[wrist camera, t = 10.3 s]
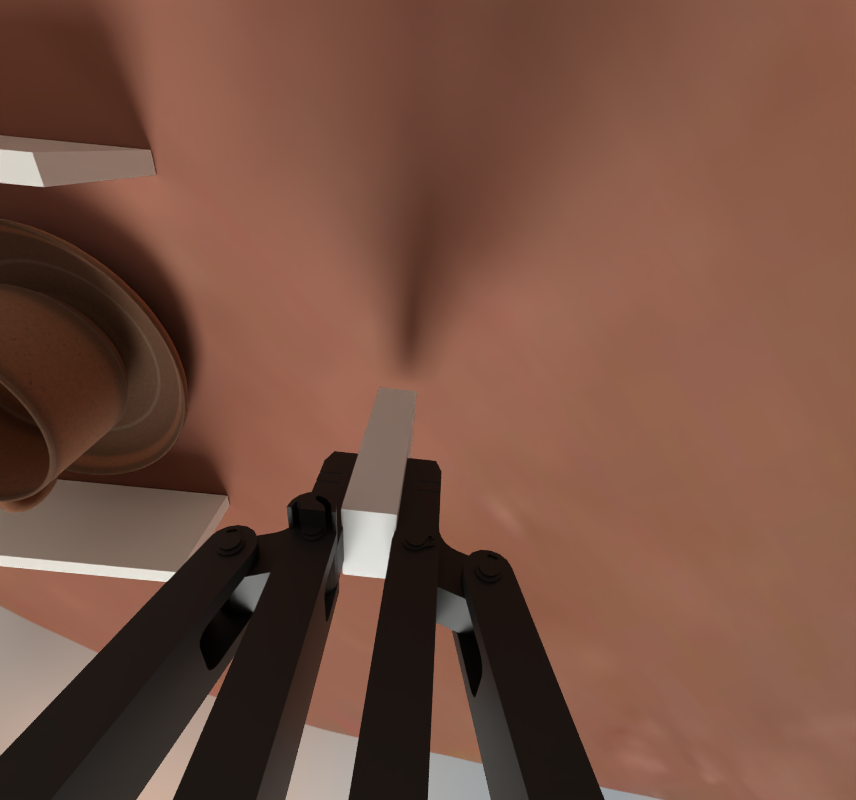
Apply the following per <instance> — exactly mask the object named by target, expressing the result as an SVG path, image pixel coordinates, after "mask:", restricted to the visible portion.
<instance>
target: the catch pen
mask: <svg viewBox="0 0 856 800" xmlns="http://www.w3.org/2000/svg"><path fill="white" fill-rule="evenodd" d="M152 175H156V171H155V167H154V162H153V158H152V153H151V150H148V149H137V148H127V147H117V146H106V145H96V144H86V143H75V142H65V141H55V140H44V139H34V138H24V137H13V136H3V135H0V183H6V184H17V185H27V186H37V187H50V186H60V185H69V184H78V183H87V182H97V181H106V180H115V179H124V178H134V177H143V176H152ZM229 506H230V505H229V501H228V496H226V495H215V494H205V493H195V492H184V491H174V490H163V489H153V488H142V487H132V486H122V485H111V484H101V483H90V482H80V481H69V480H59V479H57V482H56V484H55V486H54V487H53V489H52V490H51V492H50V493H49V494H48V496H47V497H46V498H45V499H44V500H43V501H42V502H40V503H39V504H38V505H36V506H35V507H33V508H32V509H30V510H27V511H24V512H20V513H11V512H7V511H5V510H3V509H2V508H1V507H0V566H5V567H16V568H26V569H37V570H47V571H58V572H68V573H79V574H89V575H99V576H110V577H120V578H131V579H141V580H152V581H162V582H167V581H168V580H169V579H170V578H171V577H172V576H173V575H174V574H175V573H176V572H177V571H178V570H179V569H180V568H181V567H182V566H183V564H184V563H185V562H186V561H187V560H188V559H189V558H190V557H191V556H192V555H193V554H194V553H195V552H196V551H197V550H198V549H199V548H200V547H201V546H202V545H203V544H204V543H205V541H206V540H207V539H208V538H209V537H211V535H212V534H213V532H214V531H215V529H216V527H217V526H218V524H219V522H220V521H221V519H222V518H223V516H224V514H225V513H226V511H227V509H228V508H229Z"/></svg>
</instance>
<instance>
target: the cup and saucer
mask: <svg viewBox="0 0 856 800" xmlns="http://www.w3.org/2000/svg"><path fill="white" fill-rule="evenodd" d="M187 411H188V387H187V381H186V376H185V372H184V369H183V365H182V363H181V360H180V357H179V355H178V352H177V350H176V348H175V346H174V344H173V342H172V340H171V339H170V337H169V335H168V334H167V332H166V330H165V329H164V327H163V326H162V324H161V323H160V321H159V320H158V318H157V317H156V316H155V314H154V313H153V312H152V311H151V309H150V308H149V307H148V306H147V305H146V303H145V302H144V301H143V300H142V299H141V298H140V297H139V296H138V295H137V294H136V293H135V292H134V290H133V289H132V288H130V287H129V286H128V285H127V284H126V283H125V282H124V281H123V280H122V279H121V278H120V277H118V276H117V275H116V274H115V273H113V272H112V271H111V270H110V269H109V268H107V267H106V266H105V265H103V264H102V263H101V262H99V261H98V260H96V259H95V258H93V257H92V256H91V255H89V254H87V253H86V252H84V251H82V250H81V249H79V248H78V247H76V246H74V245H72V244H70V243H68V242H66V241H65V240H63V239H61V238H59V237H57V236H54V235H52V234H50V233H47V232H45V231H43V230H40V229H37V228H34V227H31V226H28V225H25V224H22V223H18V222H14V221H10V220H6V219H0V507H1V508H2V509H3V510H5V511H7V512H11V513H20V512H24V511H27V510H30V509H32V508H33V507H35V506H36V505H38V504H39V503H40V502H42V501H43V500H44V499H45V498H46V497H47V496H48V494H49V493H50V492H51V490H52V489H53V487H54V486H55V484H56V482H57V479H58V477H59V474H60V473H61V472H63V471H64V470H65V471H69V472H74V473H81V474H90V475H115V474H123V473H129V472H133V471H136V470H140V469H142V468H144V467H147V466H149V465H151V464H153V463H154V462H156V461H158V460H159V459H160V458H162V457H163V456H164V455H165V454H166V453H167V452H168V451H169V450H170V449H171V447H172V446H173V445H174V443H175V442H176V440H177V439H178V437H179V435H180V433H181V431H182V429H183V426H184V423H185V420H186V416H187Z"/></svg>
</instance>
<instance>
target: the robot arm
mask: <svg viewBox="0 0 856 800" xmlns="http://www.w3.org/2000/svg"><path fill="white" fill-rule="evenodd" d="M416 394H417V391H410V390H401V389H391V388H381V387H379V390H378V393H377V396H376V399H375V403H374V406H373V409H372V412H371V415H370V418H369V422H368V425H367V428H366V431H365V434H364V438H363V441H362V444H361V447H360V450H359V453H358V454H355V453H345V452H336V451H335V452H333V453H332V454H331V455H330V456H329V457H328V458H327V459H326V460H325V461H324V463H323V466H322V468H321V471H320V473H319V475H318V478H317V482H316V483H315V485H314V488H313V490H312V492H308V493H305V494H302V495H299V496H297V497H296V498H294V499H293V500H292V501H291V502H290V503H289V505H288V506H287V514H288V522H289V528H287V529H285V530H283V531H280V532H276V533H271V534H265V535H258V536H257V535H256V534H255V532H254V530H252V529H250V528H249V527H247V526H240V525H236V526H229V527H226V528H223V529H221V530H219V531H217V532H216V533H214V534H213V535H212V536H211V537H209V538H208V539H207V540H206V541H205V543H204V544H203V545H202V546H201V547H200V548H199V549H198V550H197V551H196V552H195V553H194V554H193V555H192V556H191V557H190V558H189V559H188V560H187V561H186V562H185V563H184V564H183V566H182V567H181V568H180V569H179V570H178V571H177V572H176V573H175V574H174V575H173V576H172V577H171V578H170V579H169V580H168V581H167V582H166V583H165V584H164V585H163V586H162V587H161V588H160V590H159V591H158V592H157V593H156V594H155V595H154V596H153V597H152V598H151V599H150V600H149V601H148V602H147V603H146V604H145V605H144V606H143V607H142V608H141V609H140V610H139V611H138V613H137V614H136V615H135V616H134V617H133V618H132V619H131V620H130V621H129V622H128V623H127V624H126V625H125V626H124V627H123V628H122V629H121V630H120V631H119V632H118V633H117V634H116V636H115V637H114V638H113V639H112V640H111V641H110V642H109V643H108V644H107V645H106V646H105V647H104V648H103V649H102V650H101V651H100V652H99V653H98V654H97V655H96V656H95V657H94V659H93V660H92V661H91V662H90V663H89V664H88V665H87V666H86V667H85V668H84V669H83V670H82V671H81V672H80V673H79V674H78V675H77V676H76V677H75V678H74V680H72V681H71V683H70V684H69V685H68V686H67V687H66V688H65V689H64V690H63V691H62V692H61V693H60V694H59V695H58V696H57V697H56V698H55V699H54V700H53V701H52V702H51V704H49V706H48V707H47V708H46V709H45V710H44V711H43V712H42V713H41V714H40V715H39V716H38V717H37V718H36V719H35V720H34V721H33V722H32V723H31V724H30V725H29V726H28V727H27V728H26V730H25V731H24V732H23V733H22V734H21V735H20V736H19V737H18V738H17V739H16V740H15V741H14V742H13V743H12V744H11V745H10V746H9V748H7V749H6V750H5V752H4V753H3V754H2V755H1V756H0V800H136V799H137V798H138V796H139V795H140V793H141V792H142V791H143V789H144V788H145V786H146V785H147V783H148V782H149V780H150V779H151V777H152V776H153V774H154V773H155V771H156V770H157V769H158V767H159V766H160V764H161V763H162V761H163V760H164V758H165V757H166V755H167V754H168V752H169V751H170V749H171V748H172V747H173V745H174V743H175V742H176V741H177V739H178V738H179V736H180V735H181V733H182V732H183V730H184V729H185V727H186V726H187V724H188V723H189V722H190V720H191V719H192V717H193V716H194V714H195V713H196V711H197V710H198V708H199V707H200V705H201V704H202V703H203V701H204V700H205V698H206V697H207V695H208V694H209V692H210V691H211V689H212V688H213V686H214V685H215V683H216V682H217V680H218V679H219V678H220V676H221V675H222V673H223V672H224V670H225V669H226V667H227V666H228V664H229V663H230V661H231V660H232V658H233V657H234V658H233V661H232V663H231V665H230V668H229V670H228V672H227V675H226V677H225V679H224V682H223V684H222V686H221V689H220V691H219V693H218V696H217V698H216V700H215V703H214V705H213V707H212V710H211V712H210V714H209V717H208V719H207V721H206V724H205V726H204V728H203V731H202V733H201V735H200V738H199V740H198V742H197V745H196V747H195V749H194V752H193V754H192V757H191V759H190V761H189V763H188V766H187V768H186V770H185V773H184V775H183V777H182V780H181V782H180V784H179V787H178V789H177V791H176V794H175V796H174V798H173V800H285V799H286V795H287V791H288V787H289V783H290V779H291V775H292V771H293V768H294V764H295V760H296V756H297V752H298V748H299V744H300V741H301V737H302V733H303V728H304V725H305V721H306V717H307V713H308V710H309V706H310V702H311V698H312V694H313V690H314V686H315V682H316V679H317V675H318V671H319V667H320V663H321V659H322V655H323V651H324V648H325V644H326V640H327V636H328V632H329V628H330V624H331V620H332V617H333V613H334V609H335V605H336V601H337V597H338V593H339V577H340V573H341V570H342V566H343V574H346V575H356V576H365V577H375V578H384V579H385V583H384V589H383V595H382V601H381V607H380V613H379V619H378V625H377V631H376V637H375V643H374V650H373V656H372V662H371V668H370V674H369V680H368V686H367V692H366V698H365V704H364V710H363V716H362V722H361V728H360V734H359V740H358V746H357V752H356V758H355V764H354V770H353V776H352V782H351V788H350V794H349V800H428V781H429V760H430V759H429V758H430V738H431V716H432V694H433V673H434V651H435V629H436V623H438V624H441V625H443V626H445V627H447V628H449V629H451V630H452V633H453V637H454V641H455V646H456V650H457V654H458V659H459V663H460V667H461V672H462V676H463V680H464V685H465V689H466V693H467V698H468V702H469V706H470V711H471V715H472V719H473V724H474V728H475V732H476V737H477V741H478V745H479V750H480V754H481V758H482V763H483V767H484V771H485V776H486V780H487V784H488V789H489V793H490V797H491V800H604V797H603V795H602V792H601V789H600V787H599V784H598V782H597V779H596V777H595V774H594V772H593V769H592V767H591V764H590V762H589V759H588V757H587V754H586V752H585V749H584V747H583V744H582V742H581V739H580V737H579V734H578V732H577V729H576V727H575V724H574V722H573V719H572V717H571V714H570V712H569V709H568V707H567V704H566V702H565V699H564V697H563V694H562V692H561V689H560V687H559V684H558V682H557V679H556V677H555V674H554V672H553V669H552V667H551V664H550V662H549V659H548V657H547V654H546V652H545V649H544V647H543V644H542V642H541V639H540V637H539V634H538V632H537V629H536V627H535V624H534V622H533V619H532V617H531V614H530V612H529V609H528V607H527V604H526V602H525V599H524V597H523V594H522V592H521V589H520V587H519V584H518V582H517V579H516V577H515V574H514V572H513V569H512V567H511V566H510V564H509V563H508V561H507V560H506V559H505V558H504V557H502V556H501V555H500V554H498V553H495V552H493V551H488V550H479V551H476V552H473V553H471V554H470V555H469V556H468V555H466V554H463V553H461V552H458V551H456V550H454V549H452V548H451V547H450V546H448V545H447V544H446V543H445V542H444V540H443V539H442V537H441V535H440V533H439V513H440V491H441V470H440V468H439V466H438V464H437V462H436V461H431V460H422V459H412V458H410V457H411V450H412V442H413V430H414V418H415V406H416Z"/></svg>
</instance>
